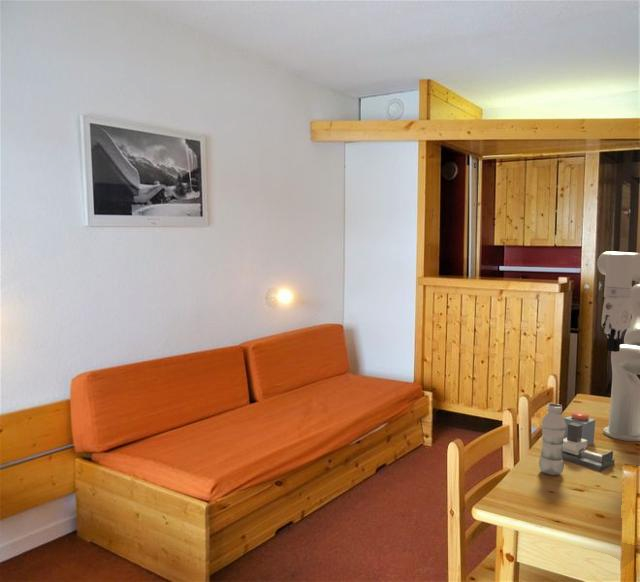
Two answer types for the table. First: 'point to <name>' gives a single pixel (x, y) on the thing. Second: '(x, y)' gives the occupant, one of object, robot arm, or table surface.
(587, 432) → the gauge cabinet
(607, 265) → the robot arm
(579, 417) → the button
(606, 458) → the track
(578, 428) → the carriage
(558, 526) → the table surface
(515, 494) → the table surface
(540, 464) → the plastic bottle
